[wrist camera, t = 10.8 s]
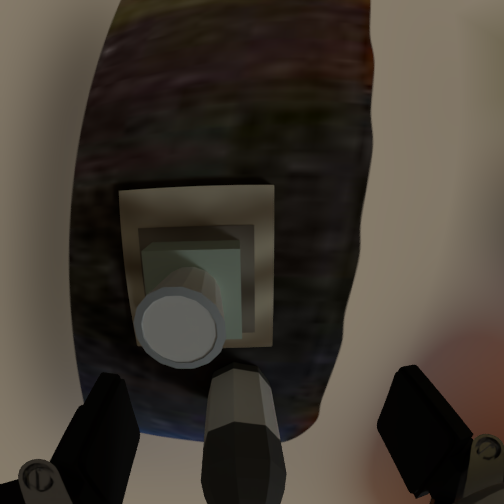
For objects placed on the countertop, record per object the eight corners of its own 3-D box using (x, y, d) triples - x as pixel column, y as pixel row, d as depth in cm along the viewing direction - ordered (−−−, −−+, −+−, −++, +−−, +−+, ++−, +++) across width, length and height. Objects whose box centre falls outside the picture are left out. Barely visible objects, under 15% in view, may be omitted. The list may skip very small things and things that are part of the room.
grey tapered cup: (223, 332, 28) (221, 375, 21) (153, 322, 28) (133, 361, 21) (232, 265, 27) (232, 294, 20) (157, 254, 26) (133, 279, 19)
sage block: (152, 242, 30) (141, 251, 26) (239, 240, 30) (240, 249, 26) (160, 321, 32) (152, 338, 28) (241, 321, 32) (242, 338, 28)
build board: (123, 190, 30) (118, 191, 28) (272, 184, 31) (274, 184, 29) (140, 339, 34) (137, 346, 32) (270, 339, 35) (272, 346, 33)
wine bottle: (282, 378, 36) (336, 601, 7) (245, 414, 38) (262, 614, 9) (231, 350, 35) (236, 609, 6) (196, 390, 36) (172, 609, 7)
